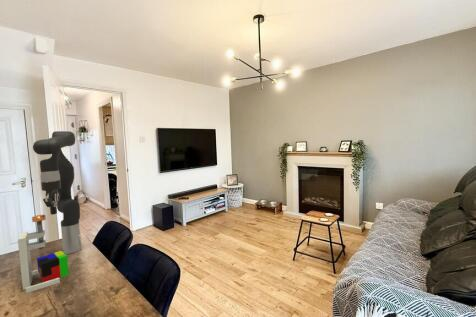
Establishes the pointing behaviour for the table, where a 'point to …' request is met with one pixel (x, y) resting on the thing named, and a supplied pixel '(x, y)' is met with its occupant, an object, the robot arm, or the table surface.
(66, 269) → the puzzle toy
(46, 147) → the robot arm
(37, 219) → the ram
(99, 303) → the table surface
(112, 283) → the table surface
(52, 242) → the table surface
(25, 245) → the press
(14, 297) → the table surface
